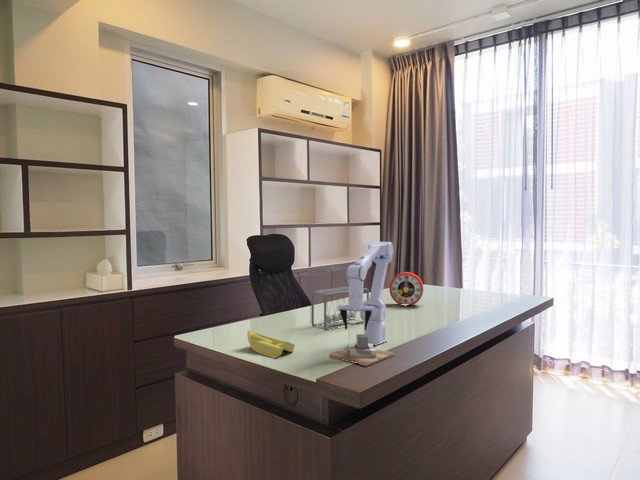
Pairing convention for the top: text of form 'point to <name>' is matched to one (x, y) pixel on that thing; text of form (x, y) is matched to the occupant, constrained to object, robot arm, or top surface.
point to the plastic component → (268, 345)
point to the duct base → (360, 359)
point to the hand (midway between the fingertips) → (355, 329)
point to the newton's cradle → (335, 316)
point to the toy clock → (406, 288)
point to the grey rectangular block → (361, 341)
